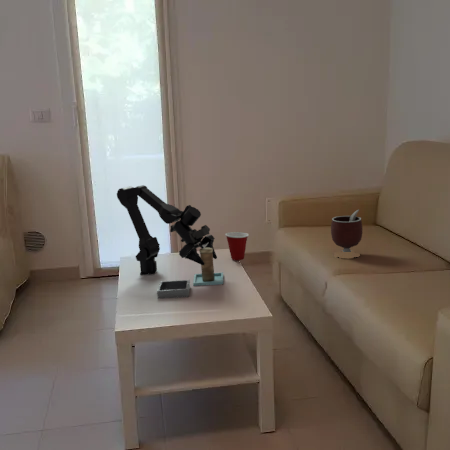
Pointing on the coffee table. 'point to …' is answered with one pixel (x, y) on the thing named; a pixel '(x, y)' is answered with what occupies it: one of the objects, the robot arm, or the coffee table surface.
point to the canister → (207, 264)
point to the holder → (173, 289)
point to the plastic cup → (237, 244)
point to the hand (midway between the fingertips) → (210, 261)
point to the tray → (199, 282)
